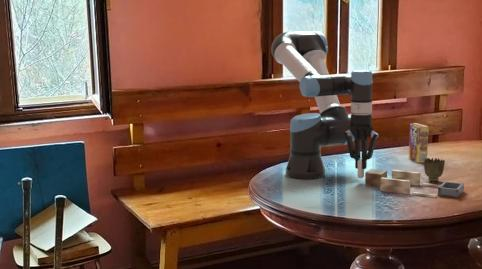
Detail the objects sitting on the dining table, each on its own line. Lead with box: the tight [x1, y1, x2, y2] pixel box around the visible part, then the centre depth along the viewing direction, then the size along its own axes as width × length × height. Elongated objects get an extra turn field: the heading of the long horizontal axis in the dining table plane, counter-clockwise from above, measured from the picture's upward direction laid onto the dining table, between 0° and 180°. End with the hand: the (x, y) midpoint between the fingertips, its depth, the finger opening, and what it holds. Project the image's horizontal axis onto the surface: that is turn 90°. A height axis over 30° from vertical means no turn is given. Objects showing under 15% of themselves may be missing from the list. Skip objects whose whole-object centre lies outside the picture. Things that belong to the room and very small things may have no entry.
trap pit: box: [437, 181, 465, 199], centre depth 213 cm, size 6×9×3 cm
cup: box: [423, 157, 446, 183], centre depth 228 cm, size 8×7×8 cm
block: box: [364, 168, 388, 189], centre depth 226 cm, size 6×6×5 cm
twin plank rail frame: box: [379, 169, 441, 199], centre depth 219 cm, size 19×14×4 cm
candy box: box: [408, 122, 430, 164], centre depth 260 cm, size 9×4×15 cm, turn 13°
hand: (360, 177), depth 228 cm, fingers closed
